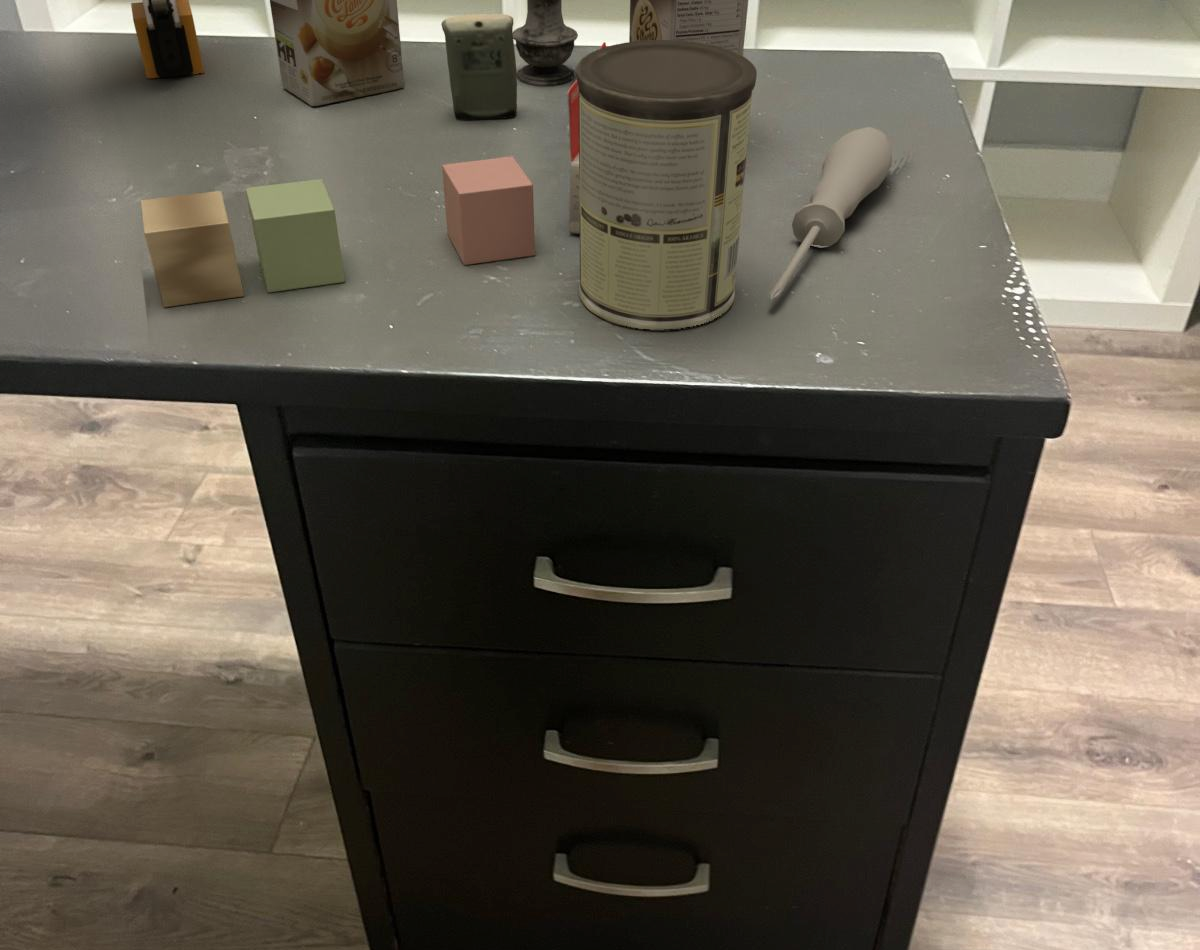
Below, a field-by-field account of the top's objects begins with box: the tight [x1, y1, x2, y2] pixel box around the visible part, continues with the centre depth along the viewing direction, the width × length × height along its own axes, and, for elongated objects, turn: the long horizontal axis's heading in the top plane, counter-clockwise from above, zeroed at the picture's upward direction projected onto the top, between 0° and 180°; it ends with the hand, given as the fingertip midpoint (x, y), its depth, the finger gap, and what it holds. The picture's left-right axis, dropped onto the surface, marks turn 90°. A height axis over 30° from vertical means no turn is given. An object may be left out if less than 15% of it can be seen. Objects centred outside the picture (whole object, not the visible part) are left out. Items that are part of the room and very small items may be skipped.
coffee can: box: [575, 40, 758, 331], centre depth 72 cm, size 10×10×14 cm
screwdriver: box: [769, 126, 893, 301], centre depth 82 cm, size 5×25×4 cm, turn 156°
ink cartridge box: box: [566, 41, 607, 235], centre depth 83 cm, size 2×11×10 cm, turn 167°
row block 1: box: [140, 190, 245, 308], centre depth 75 cm, size 5×5×5 cm
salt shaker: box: [512, 0, 579, 87], centre depth 103 cm, size 6×6×12 cm
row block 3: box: [441, 156, 536, 266], centre depth 80 cm, size 5×5×5 cm
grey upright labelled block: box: [441, 13, 518, 121], centre depth 97 cm, size 6×5×8 cm
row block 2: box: [245, 178, 346, 293], centre depth 77 cm, size 5×5×5 cm
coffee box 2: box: [628, 0, 749, 57], centre depth 91 cm, size 9×6×16 cm
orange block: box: [130, 0, 205, 79], centre depth 106 cm, size 5×5×5 cm
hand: (173, 62), depth 108 cm, fingers closed on orange block, 5 cm apart
